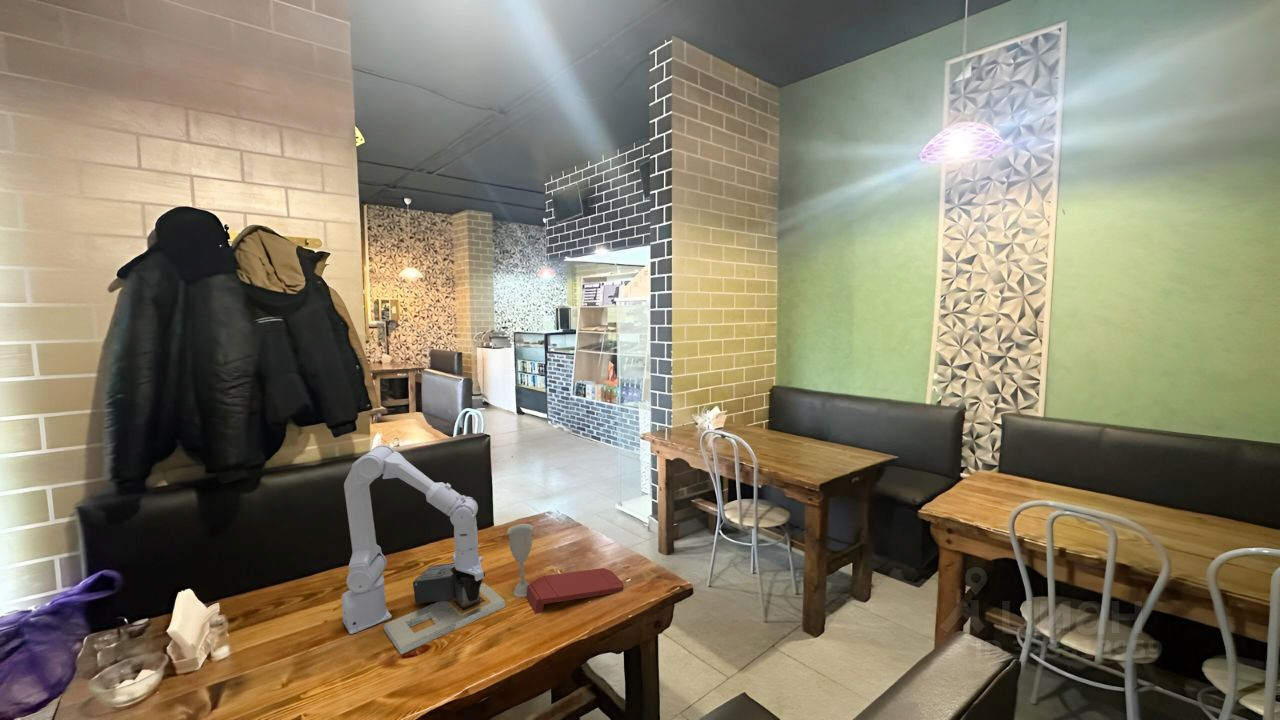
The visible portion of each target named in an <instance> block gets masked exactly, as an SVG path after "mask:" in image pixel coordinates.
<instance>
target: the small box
mask: <svg viewBox="0 0 1280 720" xmlns="http://www.w3.org/2000/svg"><path fill="white" fill-rule="evenodd" d="M452 567H455V563H454V562H450V563H445V564H444V563H443V564H435V565H429V566H428V567H427V568H426V569H425V570H424V571H423V572H422V573H421V574H420V575H419V576H417V577H416V579H414V580H413V582H412V586H413V587H412V588H413V596H414V603H415V605H419V604H426V603H434V602H435V603H436V602H439V601H442V600H450V599H454V598H455V597H456V592H455V581H456V578H455V576H454V574H453V572H452V571H451V568H452Z"/></svg>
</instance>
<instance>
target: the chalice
mask: <svg viewBox="0 0 1280 720" xmlns="http://www.w3.org/2000/svg"><path fill="white" fill-rule="evenodd" d="M533 529H534V526H533V525H532V524H530V523H518V524H515V525H513V526H510V527H509V528H508V529H507V533H508V536H509V550H510V552H511V554H512V556H513V558H514V559H515V561H516V562H517V563H518V564H519V568H518V570H519V572H520V574H519V575H518V576H519V577H520V581H519V582H517V584H516V585H515V588H514V591H513V595H514V596H515V597H516V598H523V597H527V588H528V585H531V583H529V582H528V581H526V580H525V577H526V573H525V572H524V571H525V566H524V564H525V562H526V561H527V560H528V557H529V556H530V552H531V550H532V545H533V543H532V541H533V540H532V532H533Z"/></svg>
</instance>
